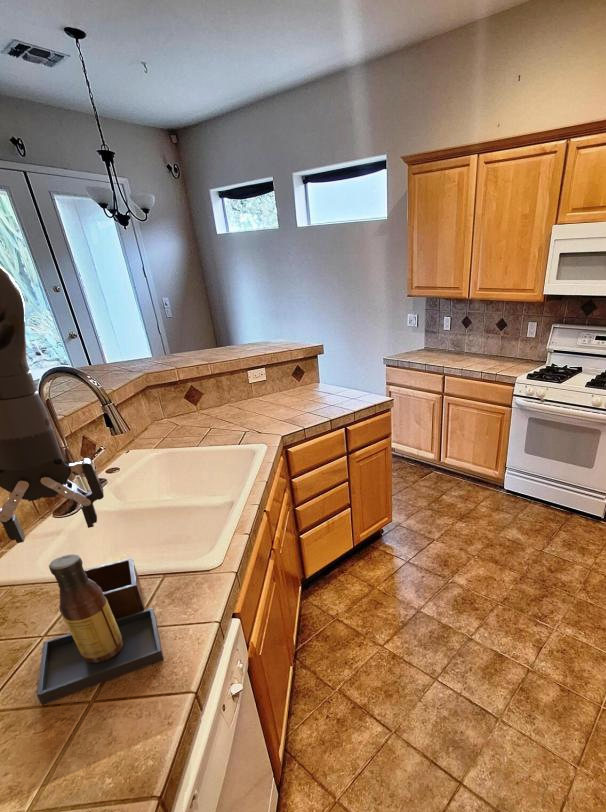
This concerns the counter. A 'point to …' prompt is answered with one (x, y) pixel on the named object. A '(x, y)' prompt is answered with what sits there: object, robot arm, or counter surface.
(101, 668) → the tray
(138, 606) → the caddy
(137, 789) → the counter surface
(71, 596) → the sauce bottle
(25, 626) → the counter surface
